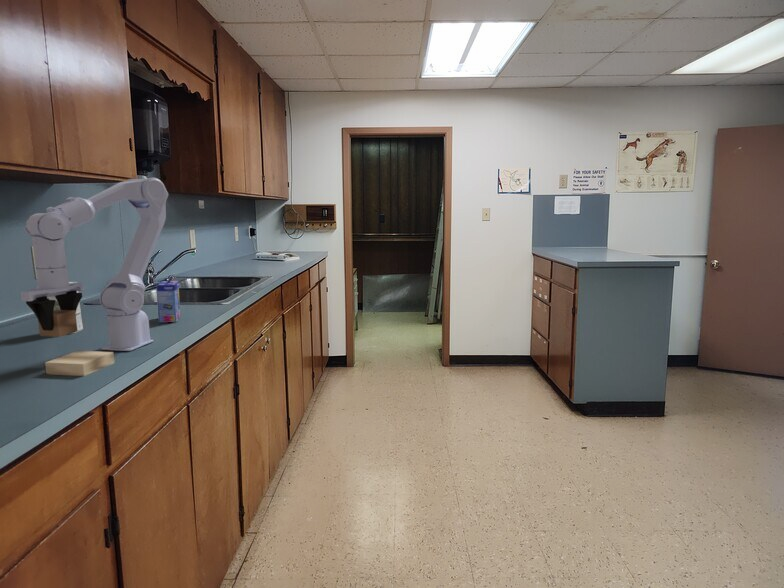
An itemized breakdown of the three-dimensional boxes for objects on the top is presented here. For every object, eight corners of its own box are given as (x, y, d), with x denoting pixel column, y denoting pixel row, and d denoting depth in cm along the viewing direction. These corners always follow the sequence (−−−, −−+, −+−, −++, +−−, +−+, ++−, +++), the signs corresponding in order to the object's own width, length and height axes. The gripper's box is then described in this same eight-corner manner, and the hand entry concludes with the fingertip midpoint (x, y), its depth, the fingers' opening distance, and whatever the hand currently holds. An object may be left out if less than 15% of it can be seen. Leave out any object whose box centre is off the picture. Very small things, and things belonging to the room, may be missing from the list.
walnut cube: (58, 330, 111) (56, 309, 111) (77, 331, 111) (75, 310, 110) (39, 335, 107) (37, 314, 106) (59, 336, 106) (56, 314, 105)
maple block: (79, 363, 111) (78, 350, 110) (114, 364, 110) (113, 352, 109) (46, 375, 102) (45, 362, 102) (84, 377, 101) (82, 364, 100)
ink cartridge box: (177, 322, 150) (174, 277, 148) (158, 323, 149) (154, 277, 146) (181, 316, 160) (178, 273, 157) (163, 317, 158) (159, 273, 156)
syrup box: (83, 329, 141) (78, 281, 139) (71, 334, 136) (65, 283, 133) (64, 329, 141) (58, 281, 139) (50, 334, 135) (44, 284, 133)
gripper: (63, 263, 114) (69, 319, 116) (5, 271, 100) (13, 334, 102) (89, 264, 113) (95, 320, 115) (34, 271, 99) (42, 335, 101)
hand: (58, 327), depth 108 cm, fingers closed on walnut cube, 5 cm apart
